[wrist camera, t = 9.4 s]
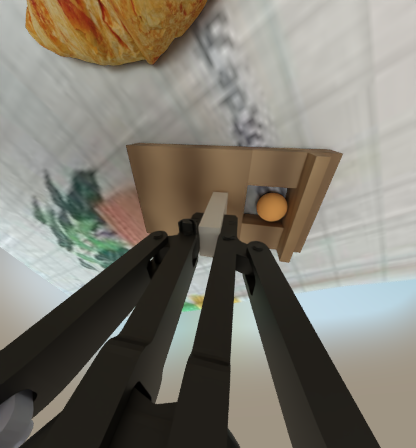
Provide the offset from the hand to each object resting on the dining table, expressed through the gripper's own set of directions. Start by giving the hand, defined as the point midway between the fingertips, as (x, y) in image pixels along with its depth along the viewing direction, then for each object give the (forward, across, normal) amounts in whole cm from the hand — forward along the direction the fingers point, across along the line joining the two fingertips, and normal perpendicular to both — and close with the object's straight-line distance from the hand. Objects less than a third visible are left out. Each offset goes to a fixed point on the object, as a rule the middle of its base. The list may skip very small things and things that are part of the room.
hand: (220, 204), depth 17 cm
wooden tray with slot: (+3, 0, 0) cm, 3 cm away
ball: (+2, +6, -1) cm, 6 cm away
